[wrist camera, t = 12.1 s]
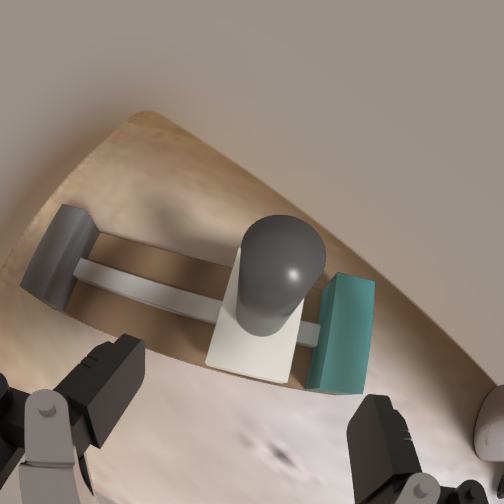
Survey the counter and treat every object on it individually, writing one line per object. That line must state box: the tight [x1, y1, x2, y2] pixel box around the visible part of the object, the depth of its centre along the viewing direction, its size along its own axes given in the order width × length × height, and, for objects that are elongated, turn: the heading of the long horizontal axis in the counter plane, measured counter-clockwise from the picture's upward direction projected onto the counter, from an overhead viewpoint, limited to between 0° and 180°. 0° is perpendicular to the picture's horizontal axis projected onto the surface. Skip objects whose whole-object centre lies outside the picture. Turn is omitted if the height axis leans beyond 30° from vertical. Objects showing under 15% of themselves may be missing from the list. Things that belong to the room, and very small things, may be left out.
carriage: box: [205, 215, 326, 384], centre depth 15 cm, size 5×8×10 cm, turn 166°
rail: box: [20, 204, 375, 395], centre depth 20 cm, size 26×8×5 cm, turn 76°
